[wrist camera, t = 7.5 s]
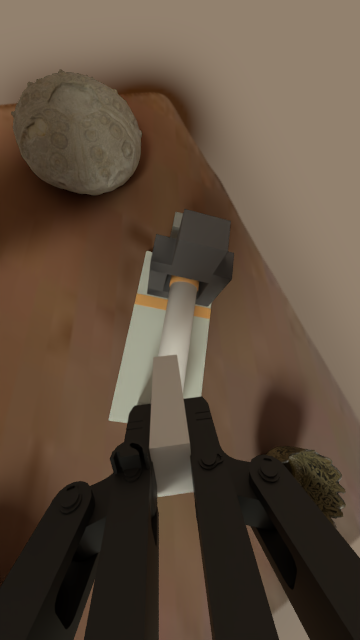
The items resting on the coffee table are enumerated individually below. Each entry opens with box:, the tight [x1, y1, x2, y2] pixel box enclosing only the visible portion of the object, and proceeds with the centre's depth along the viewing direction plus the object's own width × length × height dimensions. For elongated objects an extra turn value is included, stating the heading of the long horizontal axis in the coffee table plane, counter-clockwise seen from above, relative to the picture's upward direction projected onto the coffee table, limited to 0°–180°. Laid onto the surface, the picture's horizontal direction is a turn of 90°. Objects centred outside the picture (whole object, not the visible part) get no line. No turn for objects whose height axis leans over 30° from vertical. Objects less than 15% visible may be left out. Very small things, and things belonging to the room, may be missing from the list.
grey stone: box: [11, 70, 142, 195], centre depth 34 cm, size 18×18×10 cm
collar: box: [147, 209, 234, 307], centre depth 24 cm, size 3×8×12 cm, turn 82°
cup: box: [266, 446, 346, 528], centre depth 27 cm, size 8×7×8 cm
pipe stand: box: [109, 212, 211, 423], centre depth 28 cm, size 24×11×11 cm, turn 172°
